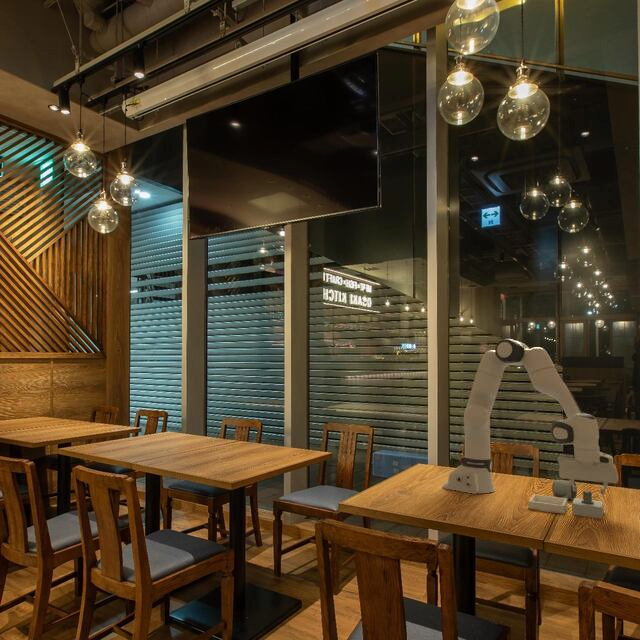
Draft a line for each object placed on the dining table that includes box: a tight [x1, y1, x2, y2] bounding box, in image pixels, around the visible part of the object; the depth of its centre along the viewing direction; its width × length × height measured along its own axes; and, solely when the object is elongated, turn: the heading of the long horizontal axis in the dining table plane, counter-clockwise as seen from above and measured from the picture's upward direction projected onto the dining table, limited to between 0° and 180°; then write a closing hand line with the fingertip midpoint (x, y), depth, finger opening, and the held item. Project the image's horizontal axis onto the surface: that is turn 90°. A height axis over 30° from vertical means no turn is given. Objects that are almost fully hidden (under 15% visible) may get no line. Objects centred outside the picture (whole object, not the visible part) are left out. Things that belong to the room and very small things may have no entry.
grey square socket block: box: [571, 497, 604, 520], centre depth 199 cm, size 10×10×4 cm
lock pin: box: [582, 490, 593, 504], centre depth 199 cm, size 3×3×8 cm
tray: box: [528, 493, 569, 515], centre depth 206 cm, size 13×13×3 cm
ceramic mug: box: [551, 479, 578, 501], centre depth 220 cm, size 11×8×8 cm
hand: (588, 492), depth 199 cm, fingers open, 8 cm apart
